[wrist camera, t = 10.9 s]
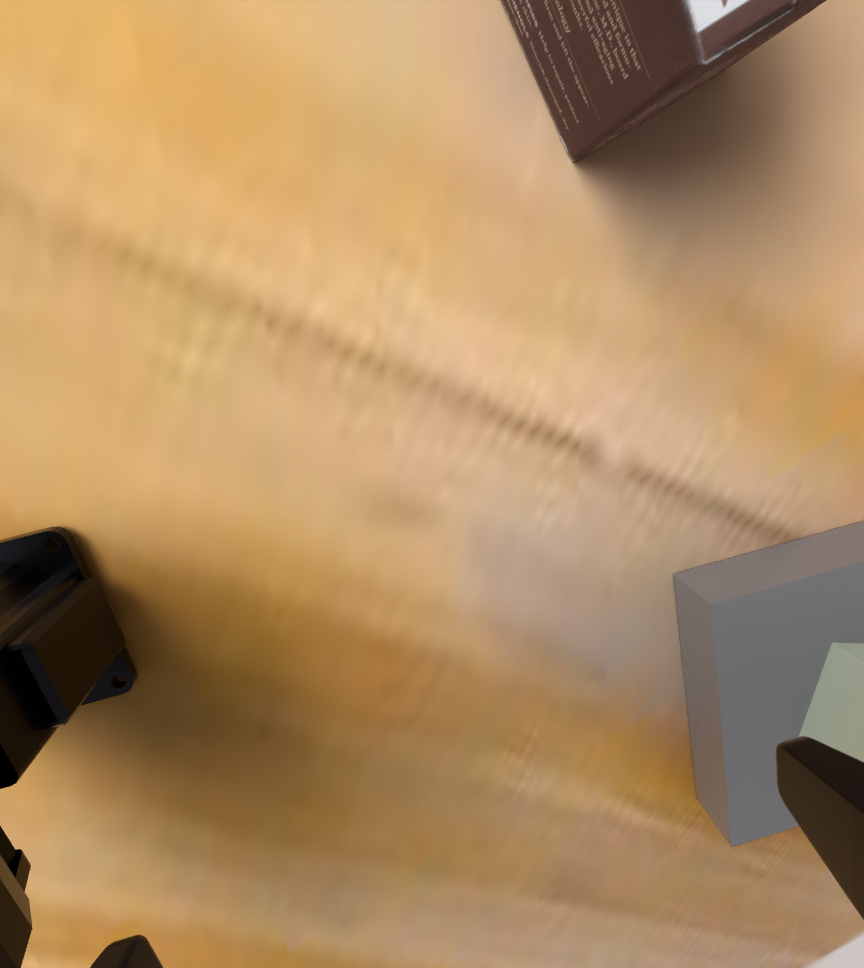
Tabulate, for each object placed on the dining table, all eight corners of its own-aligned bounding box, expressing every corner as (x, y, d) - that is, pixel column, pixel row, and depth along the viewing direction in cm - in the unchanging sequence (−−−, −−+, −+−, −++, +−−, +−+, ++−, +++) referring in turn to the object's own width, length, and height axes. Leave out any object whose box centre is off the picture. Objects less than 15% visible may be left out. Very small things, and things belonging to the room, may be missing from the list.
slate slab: (696, 798, 26) (731, 846, 23) (672, 574, 22) (711, 604, 20) (930, 727, 26) (987, 767, 24) (944, 497, 23) (1013, 518, 20)
